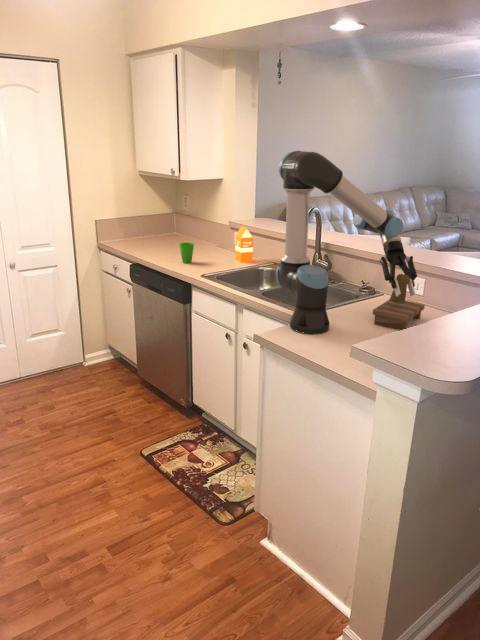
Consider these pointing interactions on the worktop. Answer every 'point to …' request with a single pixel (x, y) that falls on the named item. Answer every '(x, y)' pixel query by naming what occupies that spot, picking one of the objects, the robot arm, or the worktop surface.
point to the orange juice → (244, 245)
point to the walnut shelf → (397, 314)
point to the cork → (402, 282)
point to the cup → (186, 251)
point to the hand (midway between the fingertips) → (405, 294)
